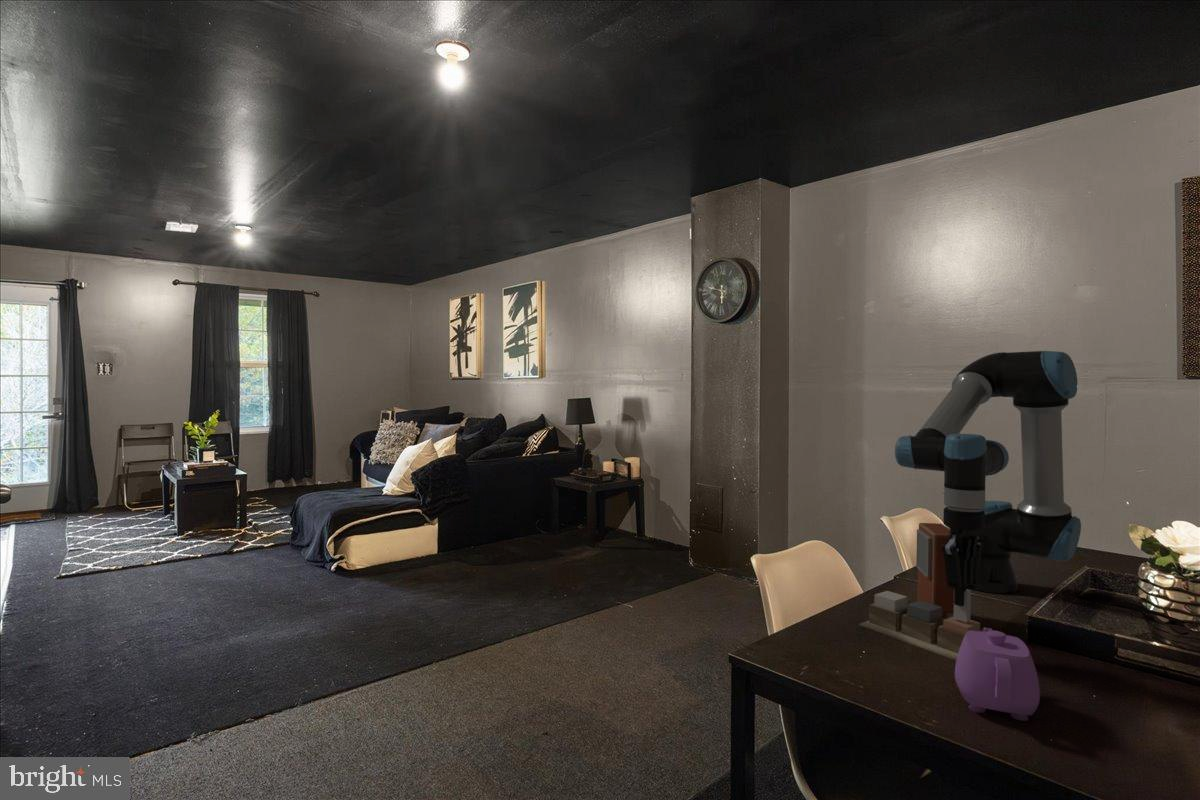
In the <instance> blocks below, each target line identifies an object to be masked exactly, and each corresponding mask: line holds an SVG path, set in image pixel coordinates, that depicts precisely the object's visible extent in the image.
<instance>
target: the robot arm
mask: <svg viewBox="0 0 1200 800" xmlns="http://www.w3.org/2000/svg"><path fill="white" fill-rule="evenodd" d="M1077 374H1078V373H1077V370H1076V367H1075V364H1074V361H1073V360H1072V358H1071V356H1070V355H1069V354H1068V353H1066V352H1064V351H1057V350H1056V351H1055V350H1053V351H1051V350H1035V351H1031V350H1030V351H1015V352H1014V351H1012V352H1011V351H1010V352H1003V351H1002V352H996V353H995V352H994V353H990V354H987V355H985V356H983V357H980V358H978V359H976V360H974V361H972V362H971V363H970V364H968V365H966V366H965V367H964V368H962V369H961V370H960V371H959V372H958V373H957V375H956V376H955V377H954V378H953V380H952V382H951V389H950V390H949V392H948V393H947V394H946V396H945V397H944V398H943V399H942V401H941V402H940V403H939V405H938V406H937V407H936V409H935V410H934V411H933V412H932V414H931V415H929V416H930V417H928V419H927V420H926V421H925V423H924V424H923V425H922V427H921V428H920V429H919V430H918V432H917V433H916V434H915V435H914V436H913V435H910V434H909V435H903V436H900V437H898V439H897V441H896V443H895V446H894V456H895V460H896V462H897V464H898V465H899V466H901V467H905V468H910V469H913V470H925V471H926V470H927V471H937V472H944V473H943V476H944V482H943V486H944V489H943V490H942V493H943V504H944V505H945V507H944V508H943V515H942V516H943V520H942V521H943V522H942V523H943V525H944V526H946V527H947V528H949V529H950V533H949V542H948V544H942V547H941V548H942V551H943V553H944V559H945V568H946V576H947V585H948V587H950V588H953V589H954V618H953V619H957V620H960V621H963V622H966V623H967V622H969V621H970V620H971V605H972V604H971V603H972V602H971V601H972V594H971V593H972V591H980V592H986V593H994V594H1008V593H1009V594H1010V593H1014V592H1016V591H1018V585H1019V583H1018V581H1019V580H1018V578H1017V575H1016V571H1015V570H1014V567H1013V564H1012V561H1011V559H1012V558H1011V557H1012V556H1011V555H1012V554H1011V553H1015V554H1021V555H1026V556H1029V557H1030V556H1031V557H1035V558H1041V559H1045V560H1046V559H1047V560H1048V561H1050V560H1052V561H1053V560H1054V561H1060V562H1066V561H1068V560H1070V559H1072V558H1073V556H1074V554H1075V553H1076V550H1077V548H1078V544H1079V541H1080V538H1081V531H1082V523H1081V519H1080V518H1079V517H1077V516H1075V515H1073V514H1072V507H1071V506H1070V505H1068V504H1067V503H1065V500H1064V499H1065V498H1064V496H1065V495H1064V494H1065V493H1064V466H1063V465H1064V462H1063V427H1062V426H1063V423H1062V411H1063V410H1064V409H1065V408H1066V407H1067V406H1068V405H1069V400H1070V399H1073V398H1075V397H1076V395H1077V391H1078V387H1077V386H1078V375H1077ZM1002 397H1003V398H1012V405H1013V407H1014V408H1016V409H1017V410H1018V411H1019V412H1020V413H1019V414H1020V430H1021V431H1020V434H1021V436H1020V439H1021V461H1022V462H1021V463H1022V464H1021V465H1022V483H1023V484H1022V485H1023V487H1022V488H1023V500H1022V501H1020V502H1019V503H1018V504H1017V506H1016V507H1017V508H1013V504H1012V503H1011V502H1009V501H1005V500H1004V501H1003V500H986V477H987V476H993V475H996V474H998V473H999V472H1001V471H1003V470H1004V469H1005V468H1006V467H1007V466H1008V463H1009V462H1010V461H1009V459H1010V457H1009V452H1008V450H1007V449H1006V447H1005V446H1004V445H1003V444H1002V443H1001V442H998V441H996V440H991V439H986V437H985V436H983V435H981V434H976V433H975V434H972V433H961V432H962V431H963V430H964V428H965V426H966V425H967V424H968V423H969V421H970V419H971V418H972V417H973V415H974V414H975V413H976V411H977V409H978V408H979V407H980V406H981V405H983V404H985V403H987V402H988V401H989V400H990V399H991V398H1002Z"/></svg>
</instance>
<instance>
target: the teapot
mask: <svg viewBox="0 0 1200 800" xmlns="http://www.w3.org/2000/svg"><path fill="white" fill-rule="evenodd" d="M983 630H984V632H981V631H968V632H966V634H965V636H964V638H963V641H962V644H961V646H960V649H959V652H958V656H957V660H955V666H954V667H955V668H954V679H955V683H956V685H957V688H958V690H959V691H960V692H959V693H960V694H961V696H962V698H963V699H964V700H965V701H966V703H968V704H969V705H968V710H970V711H973V712H975V713H979V714H983V713H985V712H986V710H991V711H997V712H1002V713H1008V714H1010V715H1009V716H1010V717H1011V718H1013V719H1015V720H1017V721H1022V722H1028V720H1029V717H1028V716H1032V715H1033V714H1035V712H1036V711H1037V709H1038V707H1039V705H1040V700H1041V699H1040V698H1041V696H1040V694H1041V692H1040V691H1041V690H1040V684H1039V683H1040V682H1039V677H1038V672H1037V668H1036V665H1035V662H1034V660H1033V656H1032V654H1031V651H1030V649H1029V647H1028V646H1027V645H1026V644H1025V642H1024V641H1023V640H1022V639H1020V638H1019V637H1017V636H1012V635H1007V634H1006V633H1004V632H1002V631H999V630H993V629H992V628H990V627H983Z"/></svg>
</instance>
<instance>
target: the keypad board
mask: <svg viewBox="0 0 1200 800" xmlns="http://www.w3.org/2000/svg"><path fill="white" fill-rule="evenodd" d="M945 619H947V618H944V617H942V619H941V620H938V621H936V622H933V623H930V624H929V623H926V622H923V621H920V620H917V619H914V618H911V617H908V616H907V609H904V610H901V611H898V612H892V611H889V610H886V609H883V608H880V607H877V606H874V603H871V604H868V620H867V621H864V622H860V623H859V624H858V625H859V627H862V628H865V629H868V630H870V629H871V631H873V630H874V631H873V632H877V633H879V634H881V633H882V634H881V635H885V636H887V637H890V638H893V639H895V640H898V641H901V642H904V643H907V644H910V645H912V646H915V647H918V648H922V649H924V650H926V651H929V652H933V653H934V654H936V655H937V654H938V655H941V656H943V657H946V658H948V659H951V660H955V661H956V660H957V656H958V652H959V649H960V646H961V644H962V641H963V638H964V636H965V635H963V634H960V633H957V632H954V631H951V630H948V629H945V628H943V620H945ZM980 631H981V632H984V628H983V629H982V628H980Z"/></svg>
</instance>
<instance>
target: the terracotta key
mask: <svg viewBox="0 0 1200 800" xmlns="http://www.w3.org/2000/svg"><path fill="white" fill-rule="evenodd" d="M953 618H954V616H953V617H951V618H948V619H945V620H943V628H945V629H948V630H951V631H954V632H957V633H960V634H963V635H965V634H966V632H968V631H980V629H981V622H978V621H975V620H972V619H970V621H969V622H967V623H966V622H963V621H960V620H957V619H953Z"/></svg>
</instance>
